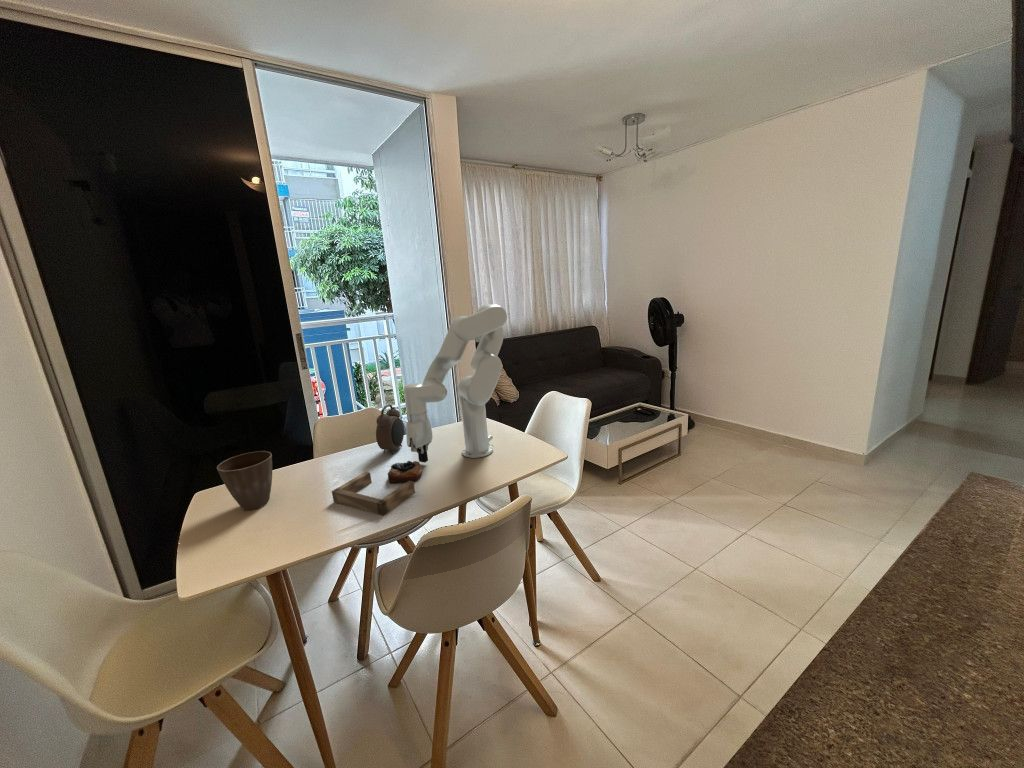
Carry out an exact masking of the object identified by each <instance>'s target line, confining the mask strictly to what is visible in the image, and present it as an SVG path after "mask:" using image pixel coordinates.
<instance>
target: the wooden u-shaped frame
mask: <svg viewBox="0 0 1024 768" xmlns="http://www.w3.org/2000/svg"><path fill="white" fill-rule="evenodd" d="M370 484H372V476H371V472H369V471H364V472H363V473H361V474H359V475H357V476H356V477H354V478H352V479H350V480H349V481H346V483H344V484H341V485H340V486H338V487H336V488H335V489H333V490H331V494H332V499H333V503H335V504H339V505H342V506H346V507H350V508H353V509H357V510H361V511H365V512H369V513H372V514H376V515H380V516H385V515H387V514H388V513H389V512H391V510H393V509H395V508H396V507H398V506H399V505H400V504H401V503H403V502H404V501H406V500H407V499H408V498H410V497H411V496H412V495H414V494H415V493H416V491H415V483H414V482H413V481H408V482H406V483H402V485H400V486H399V487H398V488H396V489H394V490H393V491H392V492H390V493H388V494H387V495H386V496H384V497H383V498H381V499H380V498H377V497H373V496H369V495H365V494H361V493H357V492H359V491H361V490H362V489H364V488H365V487H367V486H368V485H369V486H370Z"/></svg>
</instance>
